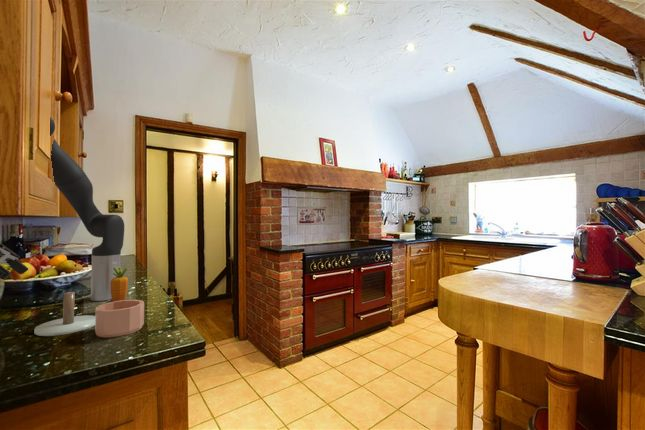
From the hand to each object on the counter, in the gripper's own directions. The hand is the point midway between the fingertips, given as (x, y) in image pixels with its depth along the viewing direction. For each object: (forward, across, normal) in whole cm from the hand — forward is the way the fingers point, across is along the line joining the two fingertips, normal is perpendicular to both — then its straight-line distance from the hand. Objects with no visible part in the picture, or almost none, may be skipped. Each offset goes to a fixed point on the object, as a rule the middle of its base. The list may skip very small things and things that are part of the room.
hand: (16, 274), depth 79 cm
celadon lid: (+20, 0, +3) cm, 20 cm away
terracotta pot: (+30, -9, -7) cm, 32 cm away
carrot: (+26, +13, -4) cm, 29 cm away
